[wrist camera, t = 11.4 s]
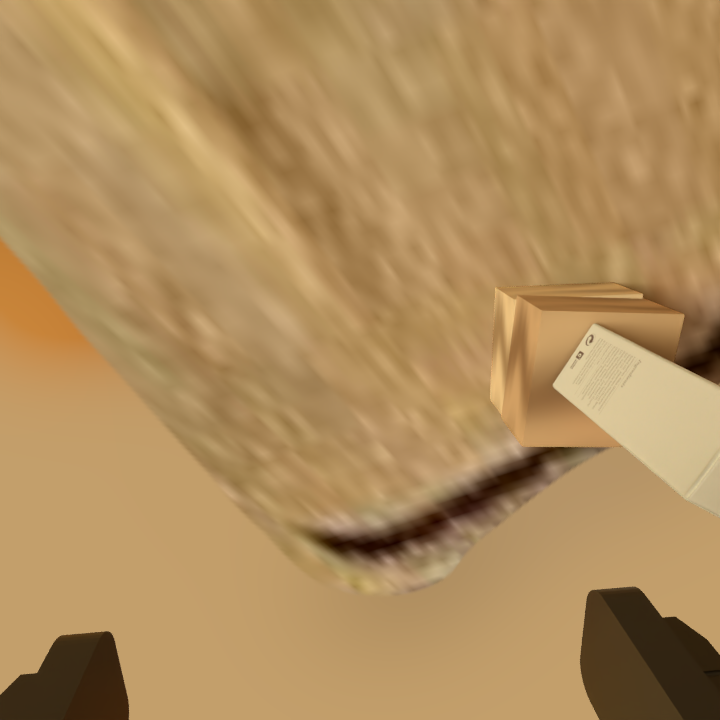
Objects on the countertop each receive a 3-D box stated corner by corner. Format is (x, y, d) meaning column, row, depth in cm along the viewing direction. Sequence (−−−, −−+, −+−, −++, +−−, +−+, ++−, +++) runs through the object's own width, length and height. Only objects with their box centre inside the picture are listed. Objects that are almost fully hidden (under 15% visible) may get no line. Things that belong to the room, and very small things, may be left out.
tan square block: (517, 295, 34) (541, 310, 31) (644, 298, 35) (684, 314, 31) (501, 418, 37) (522, 446, 33) (620, 419, 38) (655, 447, 34)
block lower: (494, 286, 38) (513, 299, 35) (611, 281, 39) (643, 293, 35) (489, 398, 41) (506, 421, 37) (599, 392, 41) (627, 414, 38)
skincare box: (548, 386, 32) (680, 499, 21) (591, 320, 31) (756, 400, 20) (632, 432, 33) (801, 562, 22) (677, 369, 32) (877, 471, 21)
